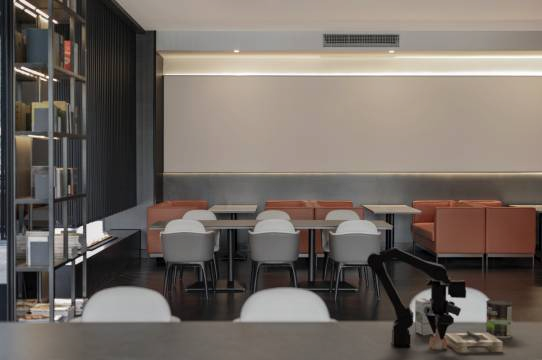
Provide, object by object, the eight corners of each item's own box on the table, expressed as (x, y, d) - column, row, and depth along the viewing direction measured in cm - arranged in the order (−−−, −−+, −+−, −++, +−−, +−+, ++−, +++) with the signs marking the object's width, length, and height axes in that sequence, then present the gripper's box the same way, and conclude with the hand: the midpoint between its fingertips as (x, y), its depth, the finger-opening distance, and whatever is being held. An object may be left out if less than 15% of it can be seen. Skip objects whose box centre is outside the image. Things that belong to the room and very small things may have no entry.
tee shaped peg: (431, 349, 256) (432, 330, 256) (429, 346, 259) (429, 328, 259) (446, 348, 256) (447, 330, 256) (444, 346, 259) (444, 328, 259)
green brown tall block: (497, 339, 271) (497, 305, 270) (480, 333, 280) (481, 300, 280) (517, 337, 274) (517, 303, 274) (500, 331, 284) (500, 298, 284)
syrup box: (433, 334, 278) (434, 300, 278) (422, 335, 276) (422, 301, 275) (426, 331, 283) (426, 297, 283) (414, 332, 281) (414, 298, 281)
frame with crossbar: (456, 352, 251) (456, 338, 251) (444, 342, 265) (444, 329, 265) (502, 352, 252) (502, 337, 252) (488, 342, 266) (488, 328, 266)
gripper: (467, 301, 248) (466, 342, 249) (450, 292, 267) (450, 330, 267) (438, 301, 248) (438, 342, 248) (423, 292, 266) (423, 330, 266)
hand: (438, 336), depth 257 cm, fingers open, 9 cm apart
